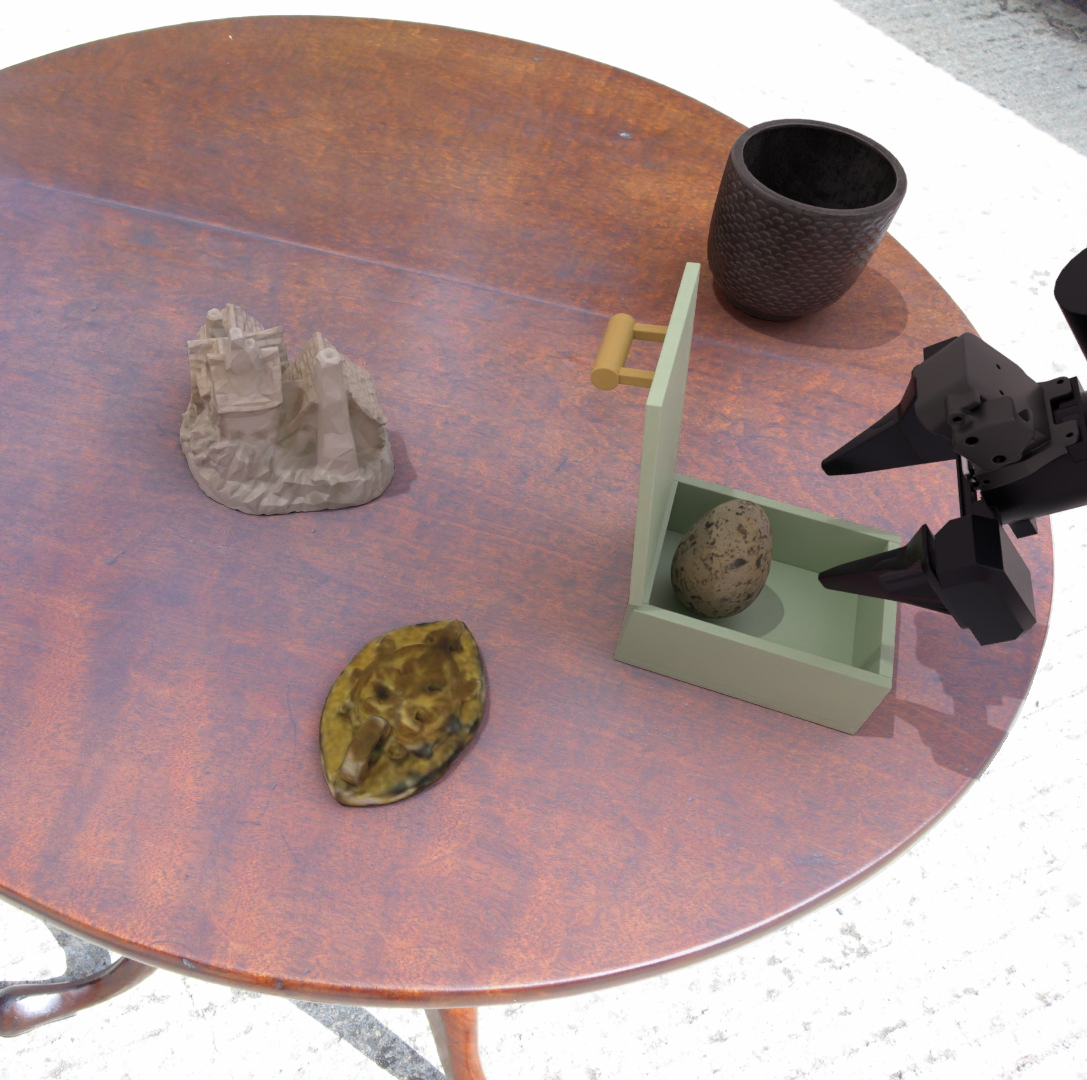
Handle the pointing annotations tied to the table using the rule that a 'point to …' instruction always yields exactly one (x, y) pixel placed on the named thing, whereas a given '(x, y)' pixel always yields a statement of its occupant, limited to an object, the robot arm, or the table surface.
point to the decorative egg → (723, 560)
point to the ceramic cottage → (281, 421)
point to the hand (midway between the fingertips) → (822, 522)
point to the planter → (800, 215)
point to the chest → (772, 617)
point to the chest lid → (652, 411)
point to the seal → (401, 712)
